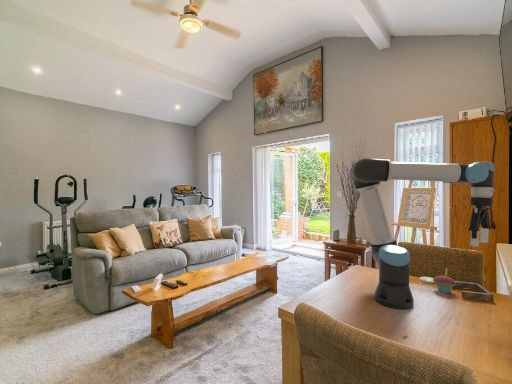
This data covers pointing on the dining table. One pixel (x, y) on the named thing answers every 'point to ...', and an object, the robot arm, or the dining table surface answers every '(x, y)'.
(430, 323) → the dining table surface
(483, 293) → the bay
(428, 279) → the white round domed disc
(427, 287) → the dining table surface
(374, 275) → the dining table surface
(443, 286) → the cupcake
